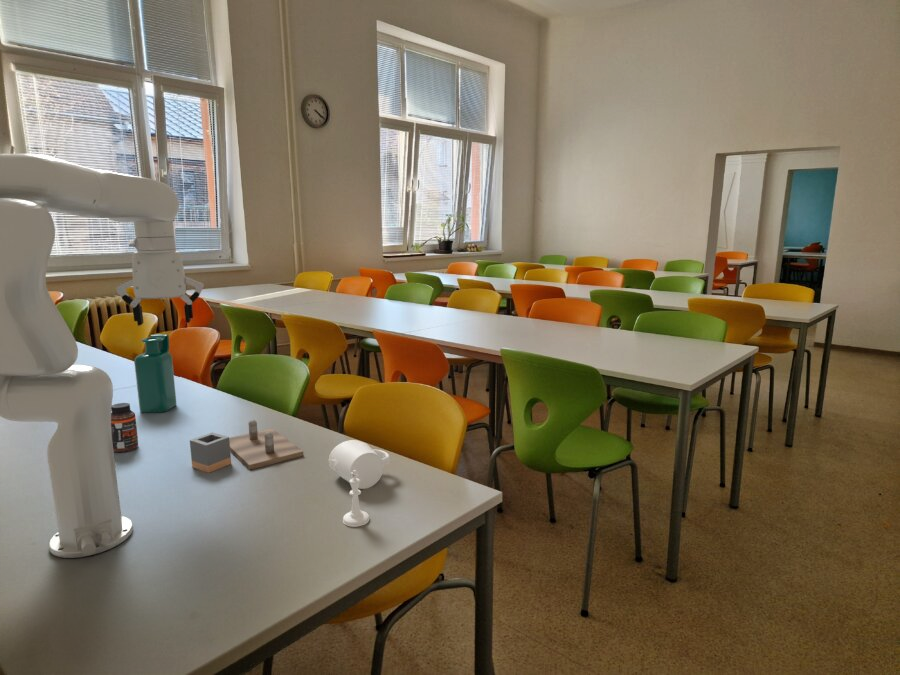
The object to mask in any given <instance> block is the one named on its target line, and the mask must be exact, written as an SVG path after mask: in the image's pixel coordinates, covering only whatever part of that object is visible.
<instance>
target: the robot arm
mask: <svg viewBox="0 0 900 675" xmlns="http://www.w3.org/2000/svg"><path fill="white" fill-rule="evenodd" d="M179 203H180V202H179V198H178V195H177V193H176V192H175V190H174V189H173V188H172V187H171V186H169V184H167V183H165V182H162V181H159V180H156V179H154V178H153V179H152V178H148V177H143V176H138V175H137V176H136V175H132V174H124V173H118V172H114V171H108V170H102V169H96V168H92V167H86V166H83V165H79V164H77V163H73V162H70V161H66V160H63V159H60V158H56V157H54V156H49V155H47V154H45V155H44V154H41V153H40V154H38V153H0V417H1V418H3V419H5V420H6V421H12V422H24V423H28V422H29V423H32V422H33V423H34V422H36V423H37V422H38V423H41V422H43V423H44V422H45V423H57V428H56V430H55V432H54V433H53V435H52V436H51V438H50V440H49V441H48V445H47V448H46V457H47V464H48V472H49V478H50V484H51V485H50V486H51V492H52V498H53V505H54V510H55V519H56V525H57V532H56V533H54V535H53V536H52V537H51V539H50V540H49V542H48V547H49V548H48V549H49V552H50V554H52V555H53V556H56V557H58V558H64V559H74V558H75V559H76V558H78V559H79V558H85V557H89V556H93V555H96V554H100V553H103V552H105V551H108V550H110V549H112V548H114V547H117V546H119V545H120V544H122V543H123V542H125V541H126V540H128V538H129V537H130V536H131V535H132V533H133V531H134V530H133V529H134V526H133V522H132V520H131V519H129V517H126V516H122V510H121V505H120V504H121V503H120V495H119V487H118V480H117V479H118V476H117V470H116V461H115V451H113V443H112V433H111V413H112V411H111V410H112V409H111V408H112V405H113V397H114V387H113V381H112V378H111V377H110V375H109V374H107V372H106V371H104V370H103V369H101V368H99V367H96V366H93V365H87V364H75V363H76V362H77V359H78V356H79V349H78V344H77V341H76V338H75V337H74V335H73V334H72V332H71V329H70V328H69V326H68V324H67V322H66V321H65V319H64V317H63V316H62V314H61V312H60V311H59V309H58V306H57V305H56V303H55V302H54V301H53V300H54V299H53V298H52V297H51V296H52V295H51V294H50V293H49V290H48V287H47V280H46V279H47V278H46V276H47V270H48V269H47V268H48V264H49V262H50V261H49V260H50V256H51V252H52V251H53V250H52V249H53V246H54V244H55V238H56V227H55V222H54V219H53V217H52V215H51V213H50V212H52V213H58V214H67V215H72V216H76V217H77V216H78V217H84V218H89V219H90V218H91V219H92V218H93V219H94V218H95V219H108V220H111V221H114V222H118V223H133V225H134V226H133V227H134V234H135V237H134V239H132V240H131V239H129V240H128V247H129V248H131V247H133V248H135V250H136V251H135V252H134V251H133V253H132V266H131V267H132V268H131V269H132V270H131V272H132V279H129V280H128V281H126V282H124V283H123V284H120V285H119V286H117V287H116V288H115V291H116V293H117V294H118V295H119V296H120V297H121V299H122V300H123V302H125V303H127V304H128V306H130V307H131V308H132V313H133V314H132V315H133V320H134V322H136V324H137V326H142V325H143V324H144V316H143V307H142V305H141V302H142V300H152V299H173V298H176V299H177V298H180V299H181V300H182V301H183V302H184V305H183V307H184V316H185V317H184V318H185V323H187V324H189V323H190V322H191V319H193V318H194V310H193V303H194V302H195V301H196V300H197V299H198V298H199V297H200V296H201V294H202V293H201V292H202V290H203V288H204V286H205V284H204V283H202V282H199V281H197V280H196V279H195V280H194V279H192V278H191V277H188V276H186V273H185V268H184V263H183V258H182V256H181V253H180V251H179V250H177V248H176V247H177V246H176V238H175V227H174V220H173V219H175V218H176V217H177V215H178V212H179V207H180V206H179V205H180V204H179ZM187 285H190V286H192V287H193V288H195V290H194V292H193V293H192V294H191V296H190V295H189V294H188V293H187V288H188V287H187ZM132 287H133V294H134V296H135V297H132V296H131V295H129V294H128V293H127V289H129V288H132Z"/></svg>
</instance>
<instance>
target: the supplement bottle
mask: <svg viewBox="0 0 900 675" xmlns="http://www.w3.org/2000/svg"><path fill="white" fill-rule="evenodd" d="M136 418H137V417H136V413H135V412H134V411H133V410H131V404H130V403H129V402H119V403H114V404H112V408H111V433H112V443H113V452H114V453H115V452H116V453H126V452H130V451H132V450H134V449H136V448H138V447H139V436H138V427H137V426H138V425H137V419H136Z"/></svg>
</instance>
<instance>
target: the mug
mask: <svg viewBox="0 0 900 675" xmlns="http://www.w3.org/2000/svg"><path fill="white" fill-rule="evenodd" d="M390 460H391V457H390V454H389V453H387V452H386V451H384V450H381V449H376V448H375V449H373V448H371V447H370V446H369V444H367V443H366V442H363V441H361V440H357V439H349V440H345V441H342V442H340V443H339V444H337V445H336V446H335V447H334V448H333V449H332V450H331V452H330V453H329V456H328V465H329V467H330V468H331V470H332V471H334V472H336V473H337V474H338V475H339V476H340V478H342V479H343V480H345V481H346V482H347V483H349V481H350V480H351V479H353V476H352V475H351V473H352V472H353V470H356V474H358V477H357V478H358V479H360V484H359V487H358V490H366V489H369V488H371V487H373V486H375V485H376V484H377V483H378V482H379V480H380V479H381V477H382V476H383V472H384V468H385V467H386V466H388V465H390V463H391V462H390Z"/></svg>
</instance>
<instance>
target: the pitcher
mask: <svg viewBox="0 0 900 675" xmlns="http://www.w3.org/2000/svg"><path fill="white" fill-rule="evenodd" d="M140 341H141V342H142V343H144V349H145V351H144V352H143V353H140V354H138V355H137V356H135V358H134V360H133V361H134V371H135V372H134V373H135V381H136V390H137V400H138V408H139V411H140V412H141V413H166V412H168V411H169V410H171V409H172V408H175V407H176V406H177V396H176V395H177V394H176V385H175V375H174V365H173V356H172V354H171V352H169V351H170V335H169V334H168V333H165V334H162V333H161V334H157V333H156V334H154V333H153V334H150V337H145V338H142V339H141V340H140Z"/></svg>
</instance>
